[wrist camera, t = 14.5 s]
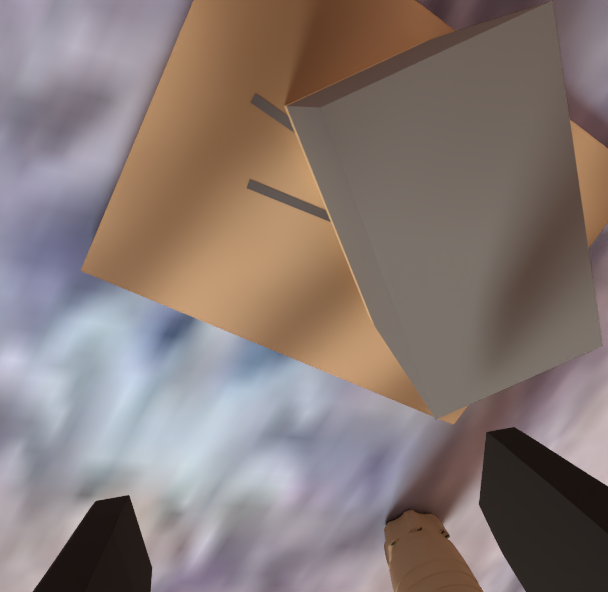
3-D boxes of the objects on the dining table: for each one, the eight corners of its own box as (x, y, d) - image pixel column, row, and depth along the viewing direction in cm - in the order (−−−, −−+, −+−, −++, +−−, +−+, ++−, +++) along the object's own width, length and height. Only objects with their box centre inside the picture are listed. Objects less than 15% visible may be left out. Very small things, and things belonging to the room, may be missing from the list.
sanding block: (283, 105, 14) (320, 107, 8) (423, 41, 14) (552, 0, 8) (369, 318, 17) (435, 419, 12) (482, 268, 17) (602, 345, 12)
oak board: (91, 259, 16) (80, 270, 15) (246, -110, 13) (247, -131, 12) (441, 407, 21) (453, 425, 20) (617, 171, 18) (643, 175, 17)
